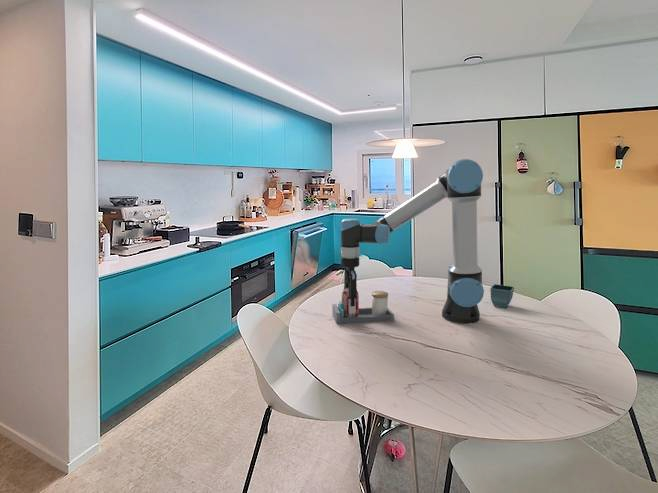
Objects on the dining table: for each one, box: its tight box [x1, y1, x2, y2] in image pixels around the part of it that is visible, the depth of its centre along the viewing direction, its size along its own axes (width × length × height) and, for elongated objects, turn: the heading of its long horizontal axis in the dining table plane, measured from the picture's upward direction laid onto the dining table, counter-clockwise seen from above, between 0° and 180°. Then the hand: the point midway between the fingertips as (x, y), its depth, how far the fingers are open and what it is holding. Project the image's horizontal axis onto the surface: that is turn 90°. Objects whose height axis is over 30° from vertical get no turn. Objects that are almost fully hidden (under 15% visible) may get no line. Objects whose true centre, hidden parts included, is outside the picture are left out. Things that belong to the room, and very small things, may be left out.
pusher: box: [337, 300, 344, 318], centre depth 153 cm, size 1×8×7 cm, turn 8°
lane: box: [331, 303, 395, 325], centre depth 155 cm, size 24×11×5 cm, turn 98°
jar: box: [371, 290, 389, 316], centre depth 156 cm, size 7×7×10 cm
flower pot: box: [489, 283, 515, 309], centre depth 169 cm, size 9×9×9 cm
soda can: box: [341, 287, 360, 317], centre depth 154 cm, size 7×7×12 cm
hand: (350, 309), depth 154 cm, fingers closed on soda can, 7 cm apart
